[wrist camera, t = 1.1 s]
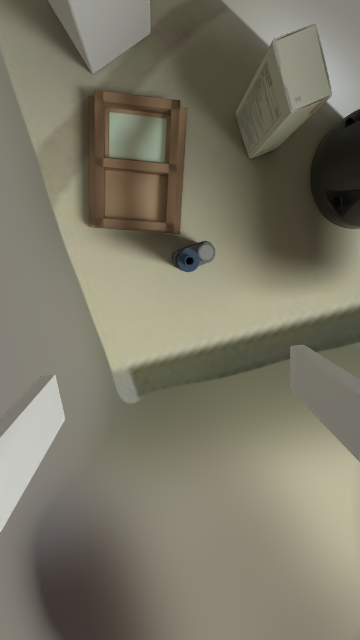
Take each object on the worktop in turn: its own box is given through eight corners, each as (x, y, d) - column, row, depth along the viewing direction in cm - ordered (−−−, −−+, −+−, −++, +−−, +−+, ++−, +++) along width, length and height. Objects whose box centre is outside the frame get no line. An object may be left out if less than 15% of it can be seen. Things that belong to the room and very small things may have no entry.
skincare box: (277, 148, 38) (335, 99, 26) (248, 160, 38) (292, 116, 26) (264, 97, 36) (318, 19, 24) (233, 109, 36) (272, 37, 24)
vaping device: (167, 253, 39) (173, 252, 28) (202, 241, 39) (222, 235, 28) (174, 270, 40) (182, 277, 28) (207, 258, 40) (230, 259, 28)
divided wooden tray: (186, 112, 36) (188, 101, 33) (179, 233, 39) (180, 232, 36) (90, 101, 34) (85, 89, 32) (91, 227, 38) (87, 225, 35)
